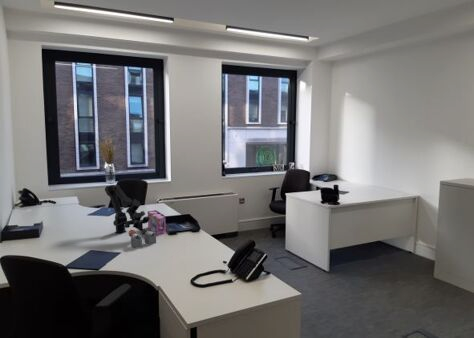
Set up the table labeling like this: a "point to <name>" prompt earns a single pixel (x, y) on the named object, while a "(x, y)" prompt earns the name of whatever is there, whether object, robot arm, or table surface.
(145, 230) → the black plunger
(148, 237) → the grey u-shaped block
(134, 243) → the bed
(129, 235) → the copper plunger
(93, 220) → the table surface
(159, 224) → the gum box
